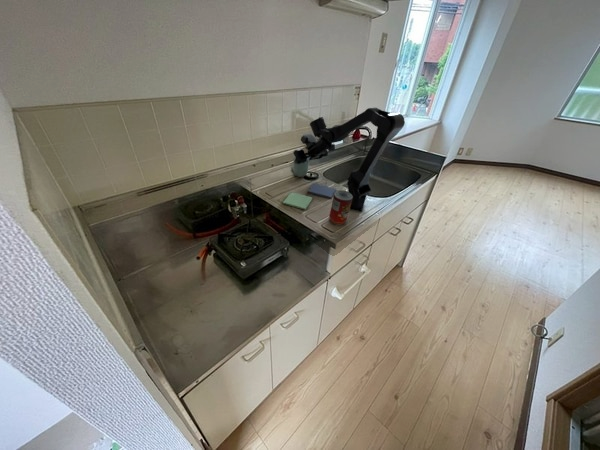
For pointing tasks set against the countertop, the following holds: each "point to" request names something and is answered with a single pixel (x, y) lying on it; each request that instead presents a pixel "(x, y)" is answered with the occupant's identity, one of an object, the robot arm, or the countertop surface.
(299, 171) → the cup
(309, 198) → the cup mat
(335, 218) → the soda can
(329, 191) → the can mat
